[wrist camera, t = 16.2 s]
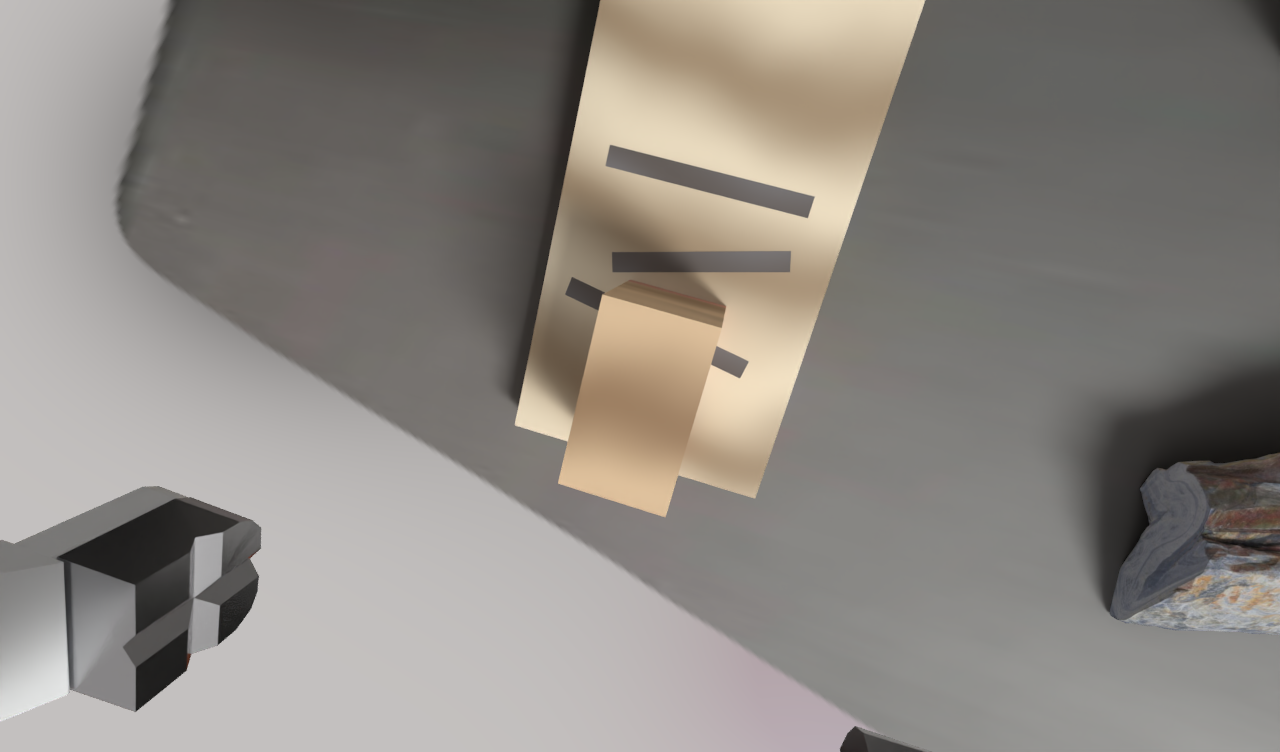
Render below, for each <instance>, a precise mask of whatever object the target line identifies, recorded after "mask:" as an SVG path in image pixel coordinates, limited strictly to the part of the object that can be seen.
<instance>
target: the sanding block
mask: <svg viewBox="0 0 1280 752" xmlns="http://www.w3.org/2000/svg"><path fill="white" fill-rule="evenodd" d="M725 310H726V306H724V305H720V304H717V303H713V302H709V301H706V300H702V299H699V298H695V297H691V296H688V295H684V294H681V293H677V292H674V291H670V290H666V289H663V288H659V287H656V286H652V285H648V284H645V283H641V282H638V281H634V280H628V281H627V282H625V283H623V284H621V285H619V286H617V287H615V288H613V289H612V290H610V291H608V292H606V293H604V294H602V298H601V302H600V307H599V311H598V315H597V319H596V324H595V328H594V332H593V336H592V341H591V345H590V349H589V354H588V358H587V362H586V366H585V371H584V375H583V379H582V383H581V388H580V392H579V396H578V400H577V405H576V409H575V413H574V418H573V422H572V426H571V430H570V435H569V439H568V443H567V447H566V452H565V456H564V460H563V464H562V469H561V473H560V477H559V482H558V484H561V485H565V486H568V487H571V488H574V489H577V490H580V491H584V492H587V493H590V494H593V495H596V496H600V497H603V498H606V499H609V500H612V501H615V502H619V503H622V504H625V505H628V506H631V507H634V508H638V509H641V510H644V511H647V512H650V513H653V514H657V515H660V516H663V517H666V513H667V510H668V507H669V503H670V500H671V497H672V493H673V490H674V487H675V483H676V480H677V477H678V473H679V470H680V467H681V463H682V460H683V457H684V453H685V450H686V447H687V443H688V440H689V437H690V433H691V430H692V426H693V423H694V420H695V416H696V413H697V410H698V406H699V403H700V400H701V396H702V393H703V390H704V386H705V383H706V380H707V376H708V373H709V370H710V366H711V363H712V360H713V356H714V353H715V349H716V346H717V343H718V339H719V336H720V333H721V329H722V325H723V320H724V315H725Z"/></svg>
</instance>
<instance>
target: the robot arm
mask: <svg viewBox="0 0 1280 752" xmlns="http://www.w3.org/2000/svg"><path fill="white" fill-rule="evenodd" d="M260 549H261V527H259V525H257V524H256V523H255V522H254V521H253V520H250V519H247V518H245V517H242V516H239V515H237V514H234V513H231V512H228V511H226V510H223V509H220V508H218V507H215V506H212V505H210V504H207V503H204V502H201V501H199V500H196V499H194V498H191V497H190V498H188V497H186V496H183V495H180V494H178V493H175V492H172V491H170V490H167V489H164V488H162V487H159V486H157V487H156V486H154V487H141V488H139V489H137V490H134V491H132V492H130V493H128V494H125V495H123V496H121V497H119V498H116V499H114V500H112V501H110V502H107V503H105V504H103V505H101V506H99V507H96V508H94V509H92V510H89V511H87V512H85V513H83V514H80V515H78V516H76V517H74V518H71V519H69V520H67V521H65V522H62V523H60V524H58V525H56V526H53V527H51V528H49V529H47V530H45V531H42V532H40V533H38V534H36V535H33V536H31V537H29V538H26V539H24V540H22V541H20V542H17V543H15V544H13V543H10V542H7V541H4V540H1V541H0V722H1V721H3V720H5V719H8V718H10V717H13V716H16V715H18V714H20V713H23V712H25V711H28V710H31V709H33V708H36V707H38V706H40V705H43V704H46V703H48V702H51V701H53V700H55V699H58V698H61V697H63V696H66V695H68V694H69V693H70V690H73V691H76V692H79V693H82V694H84V695H88V696H90V697H93V698H96V699H99V700H102V701H105V702H108V703H111V704H114V705H117V706H120V707H122V708H125V709H128V710H131V711H134V712H136V711H137V710H139V709H140V708H141V707H142V706H144V705H145V704H146V703H147V702H148V701H150V700H151V699H152V698H153V697H155V696H156V695H157V694H158V693H160V692H161V691H162V690H163V689H165V688H166V687H167V686H168V685H170V684H171V683H172V682H173V681H174V680H176V679H177V678H178V677H179V676H181V675H182V674H183V673H184V672H186V671H187V667H188V664H189V660H190V657H191V654H193V653H196V652H199V651H202V650H205V649H208V648H211V647H214V646H218V645H219V644H220V643H221V642H222V641H223V640H224V639H226V638H227V637H228V636H229V635H230V634H232V633H233V632H234V631H235V630H236V629H237V628H238V626H239V625H240V624H241V622H242V621H243V619H244V618H245V617H246V615H247V614H248V612H249V611H250V609H251V608H252V605H253V602H254V599H255V597H256V594H257V591H258V579H259V576H258V574H257V572H256V570H255V568H254V566H253V564H252V562H251V560H250V558H251V557H252V556H253V555H254V554H255V553H256V552H258V551H259V550H260ZM840 752H931V751H928V750H925V749H922V748H919V747H916V746H913V745H910V744H907V743H904V742H901V741H898V740H895V739H892V738H889V737H886V736H883V735H880V734H877V733H874V732H871V731H868V730H865V729H862V728H859V727H856V726H855V727H854V728H853V729H852V730H850V732H848V733H847V735H846V737H845V739H844V741H843V743H842V746H841V748H840Z"/></svg>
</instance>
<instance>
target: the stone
mask: <svg viewBox="0 0 1280 752" xmlns="http://www.w3.org/2000/svg"><path fill="white" fill-rule="evenodd" d="M1140 491H1141V493H1142V498H1143V502H1144V506H1145V509H1146V512H1147V514H1148V521H1149V524H1150V525H1149V526H1148V527H1147V528H1146V529H1145V531H1144V532H1143V533H1142V534H1141V537H1140V539H1139V541H1138V543H1137V544H1136V546H1135V547H1134V549H1133V550H1132V552H1131V553H1130V554H1129V556H1128V557H1127V559H1126V560H1125V562H1124V563H1123V565H1122V566H1121V568H1120V571H1119V575H1118V579H1117V583H1116V587H1115V591H1114V595H1113V600H1112V604H1111V608H1110V615H1111V616H1112V617H1114V618H1116V619H1117V620H1120V621H1122V622H1124V623H1134V624H1138V625H1145V626H1157V627H1161V628H1165V629H1172V630H1201V631H1225V632H1245V633H1251V634H1274V635H1280V453H1276V454H1269V455H1266V456H1263V457H1260V458H1256V459H1246V460H1240V461H1235V462H1229V463H1213V462H1211V461H1188V462H1178V463H1176V464H1174V465H1172V466H1171V467H1170V468H1169V469H1162V468H1157V469H1155V470H1154V471H1153V472H1152V473H1151V474H1150V476H1149V477H1148V478H1147V480H1146V481H1145V482H1144V484H1143V485H1142V487H1141V488H1140Z"/></svg>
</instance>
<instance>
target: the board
mask: <svg viewBox="0 0 1280 752" xmlns="http://www.w3.org/2000/svg"><path fill="white" fill-rule="evenodd" d="M924 2H925V0H600V5H599V10H598V15H597V20H596V25H595V30H594V35H593V40H592V45H591V50H590V55H589V60H588V65H587V70H586V75H585V80H584V85H583V89H582V94H581V99H580V104H579V109H578V114H577V119H576V124H575V129H574V134H573V139H572V144H571V149H570V154H569V159H568V164H567V169H566V174H565V179H564V184H563V189H562V194H561V199H560V204H559V208H558V213H557V218H556V223H555V228H554V233H553V238H552V243H551V248H550V253H549V258H548V263H547V268H546V273H545V278H544V283H543V288H542V293H541V298H540V303H539V308H538V313H537V318H536V323H535V328H534V332H533V337H532V342H531V347H530V352H529V357H528V362H527V367H526V372H525V377H524V382H523V387H522V392H521V397H520V402H519V407H518V412H517V417H516V422H515V425H516V426H519V427H522V428H526V429H529V430H532V431H535V432H539V433H542V434H545V435H548V436H552V437H555V438H558V439H562V440H565V441H568V439H569V435H570V430H571V426H572V422H573V418H574V413H575V409H576V405H577V400H578V396H579V392H580V388H581V383H582V379H583V375H584V371H585V366H586V362H587V358H588V354H589V349H590V345H591V341H592V336H593V332H594V328H595V324H596V319H597V315H598V311H599V307H600V302H601V298H602V294H604V293H606V292H608V291H610V290H612V289H613V288H615V287H617V286H619V285H621V284H623V283H625V282H627V281H628V280H634V281H638V282H641V283H645V284H648V285H652V286H656V287H659V288H663V289H666V290H670V291H674V292H677V293H681V294H684V295H688V296H691V297H695V298H699V299H702V300H706V301H709V302H713V303H717V304H720V305H724V306H726V310H725V315H724V320H723V325H722V329H721V333H720V336H719V339H718V343H717V346H716V349H715V353H714V356H713V360H712V363H711V366H710V370H709V373H708V376H707V380H706V383H705V386H704V390H703V393H702V396H701V400H700V403H699V406H698V410H697V413H696V416H695V420H694V423H693V426H692V430H691V433H690V437H689V440H688V443H687V447H686V450H685V453H684V457H683V460H682V463H681V467H680V470H679V473H678V475H680V476H683V477H686V478H690V479H693V480H696V481H699V482H703V483H706V484H709V485H712V486H716V487H719V488H722V489H726V490H729V491H732V492H735V493H739V494H742V495H745V496H749V497H752V498H755V497H756V494H757V491H758V489H759V486H760V483H761V480H762V477H763V474H764V471H765V468H766V465H767V462H768V459H769V456H770V453H771V450H772V448H773V445H774V442H775V439H776V436H777V433H778V430H779V427H780V424H781V421H782V418H783V415H784V412H785V409H786V407H787V404H788V401H789V398H790V395H791V392H792V389H793V386H794V383H795V380H796V377H797V374H798V371H799V368H800V366H801V363H802V360H803V357H804V354H805V351H806V348H807V345H808V342H809V339H810V336H811V333H812V330H813V327H814V325H815V322H816V319H817V316H818V313H819V310H820V307H821V304H822V301H823V298H824V295H825V292H826V289H827V286H828V284H829V281H830V278H831V275H832V272H833V269H834V266H835V263H836V260H837V257H838V254H839V251H840V248H841V245H842V242H843V240H844V237H845V234H846V231H847V228H848V225H849V222H850V219H851V216H852V213H853V210H854V207H855V204H856V201H857V199H858V196H859V193H860V190H861V187H862V184H863V181H864V178H865V175H866V172H867V169H868V166H869V163H870V160H871V158H872V155H873V152H874V149H875V146H876V143H877V140H878V137H879V134H880V131H881V128H882V125H883V122H884V119H885V117H886V114H887V111H888V108H889V105H890V102H891V99H892V96H893V93H894V90H895V87H896V84H897V81H898V78H899V76H900V73H901V70H902V67H903V64H904V61H905V58H906V55H907V52H908V49H909V46H910V43H911V40H912V37H913V35H914V32H915V29H916V26H917V23H918V20H919V17H920V14H921V11H922V8H923V5H924Z"/></svg>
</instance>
